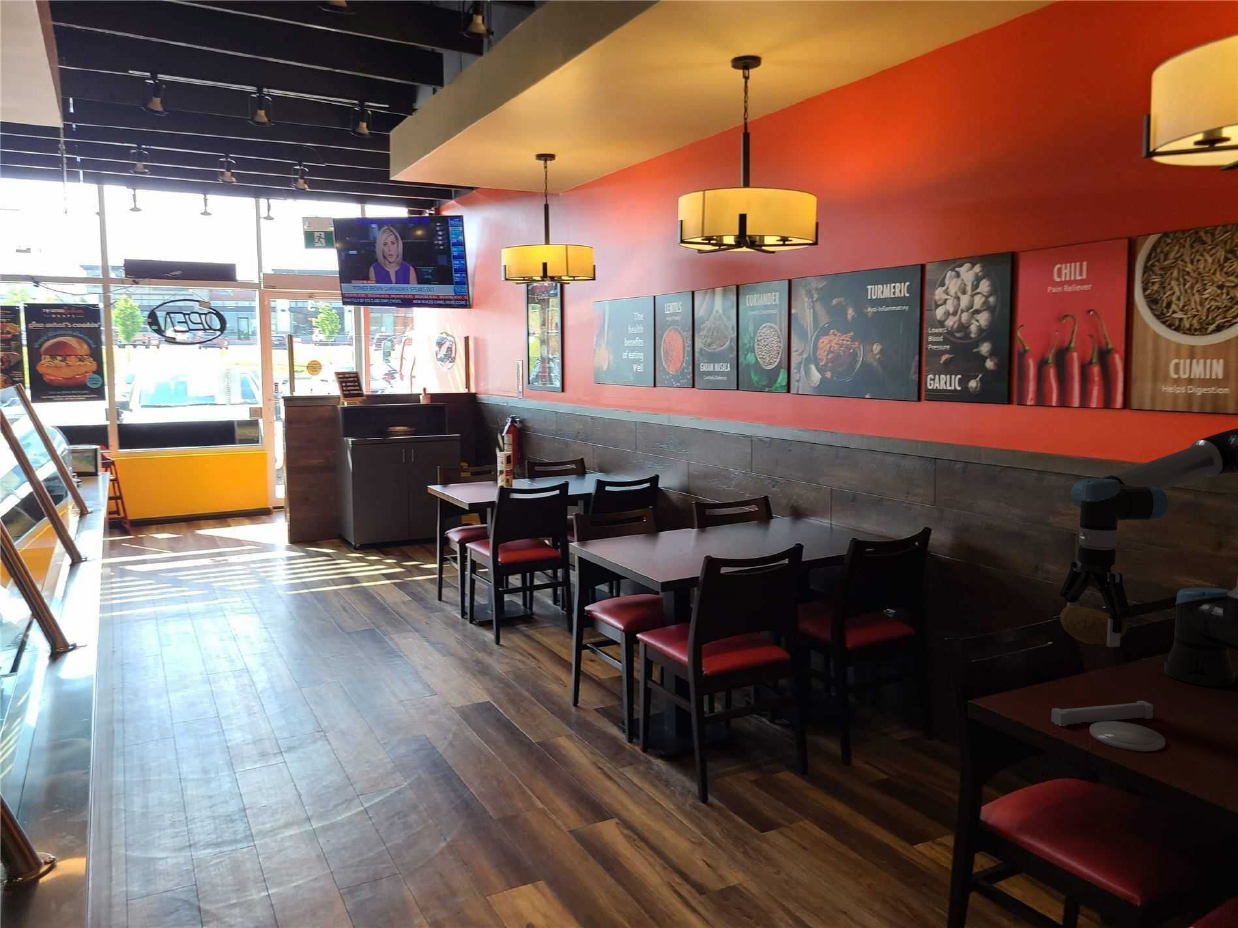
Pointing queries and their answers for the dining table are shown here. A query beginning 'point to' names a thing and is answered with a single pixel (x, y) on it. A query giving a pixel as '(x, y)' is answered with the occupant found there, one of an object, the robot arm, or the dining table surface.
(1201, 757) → the dining table surface
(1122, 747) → the plate
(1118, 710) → the rail
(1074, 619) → the potato
